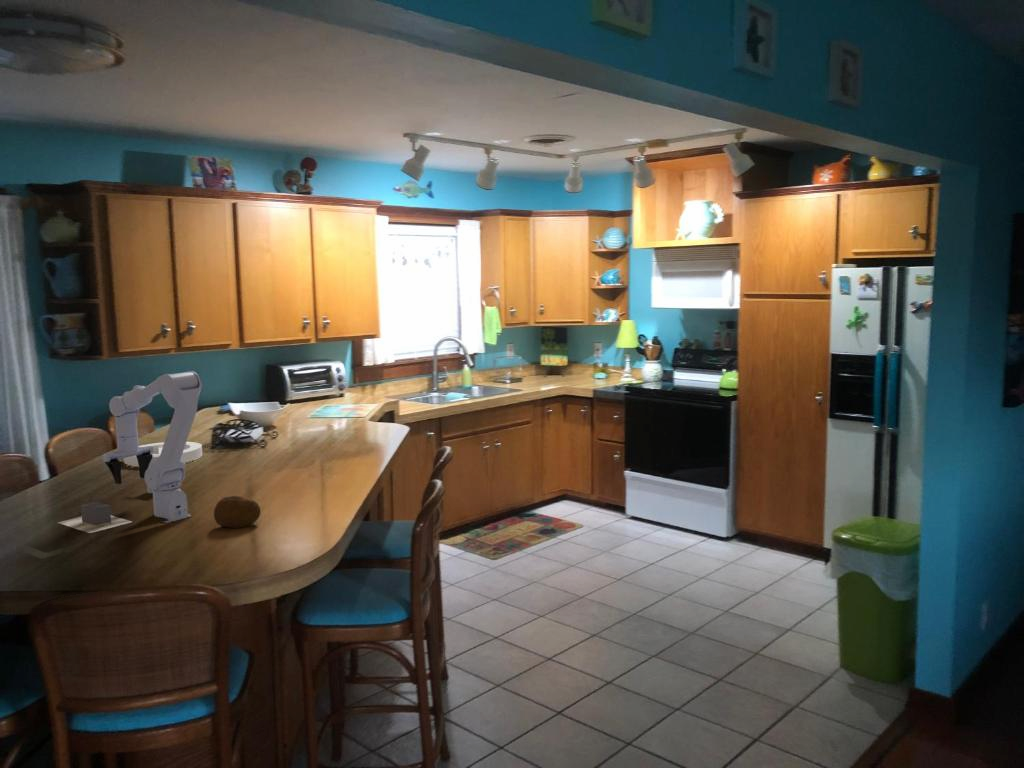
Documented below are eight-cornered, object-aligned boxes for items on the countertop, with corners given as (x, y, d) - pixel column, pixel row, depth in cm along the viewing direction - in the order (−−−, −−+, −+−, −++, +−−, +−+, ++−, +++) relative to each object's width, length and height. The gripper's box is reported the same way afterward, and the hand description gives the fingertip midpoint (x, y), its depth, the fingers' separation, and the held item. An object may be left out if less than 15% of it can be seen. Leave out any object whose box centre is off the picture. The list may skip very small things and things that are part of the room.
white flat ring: (165, 471, 289) (164, 458, 288) (107, 466, 298) (106, 454, 298) (218, 455, 315) (217, 443, 314) (163, 451, 324) (162, 439, 324)
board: (133, 525, 221) (132, 521, 221) (90, 537, 211) (89, 533, 211) (99, 516, 231) (99, 511, 231) (57, 526, 222) (56, 522, 221)
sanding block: (111, 522, 220) (109, 505, 220) (95, 526, 217) (93, 509, 216) (98, 518, 224) (96, 501, 224) (82, 522, 221) (80, 505, 220)
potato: (252, 531, 214) (250, 500, 213) (209, 532, 214) (206, 501, 213) (262, 522, 223) (260, 492, 222) (220, 522, 223) (218, 492, 221)
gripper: (143, 430, 241) (146, 473, 242) (95, 438, 229) (99, 484, 231) (156, 432, 237) (159, 476, 238) (108, 441, 225) (112, 487, 227)
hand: (130, 480), depth 234 cm, fingers open, 7 cm apart
